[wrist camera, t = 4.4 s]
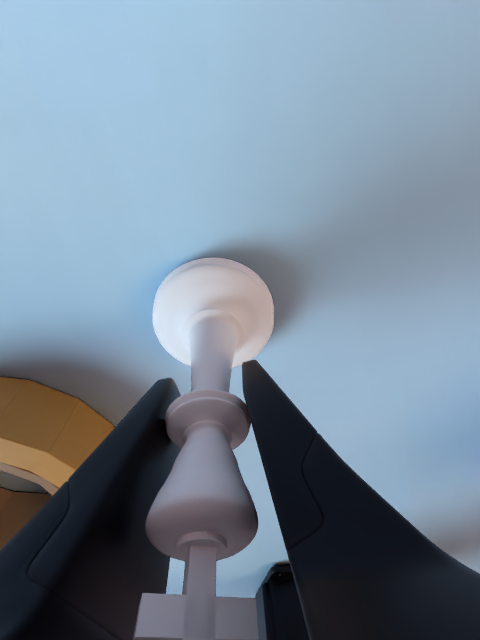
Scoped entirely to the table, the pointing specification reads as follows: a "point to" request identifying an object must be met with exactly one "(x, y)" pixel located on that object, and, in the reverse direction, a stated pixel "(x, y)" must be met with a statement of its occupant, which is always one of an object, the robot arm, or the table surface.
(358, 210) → the table surface
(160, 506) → the chess piece
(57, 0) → the table surface
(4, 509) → the tape roll
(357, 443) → the table surface
